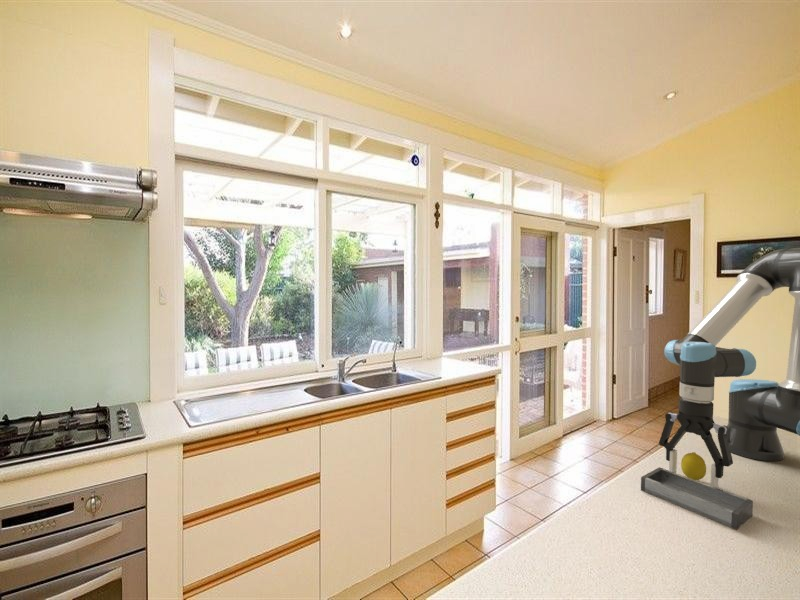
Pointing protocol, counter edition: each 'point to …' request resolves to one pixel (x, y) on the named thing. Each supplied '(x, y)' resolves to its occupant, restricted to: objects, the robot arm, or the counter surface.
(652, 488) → the tray
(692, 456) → the lemon
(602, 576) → the counter surface
